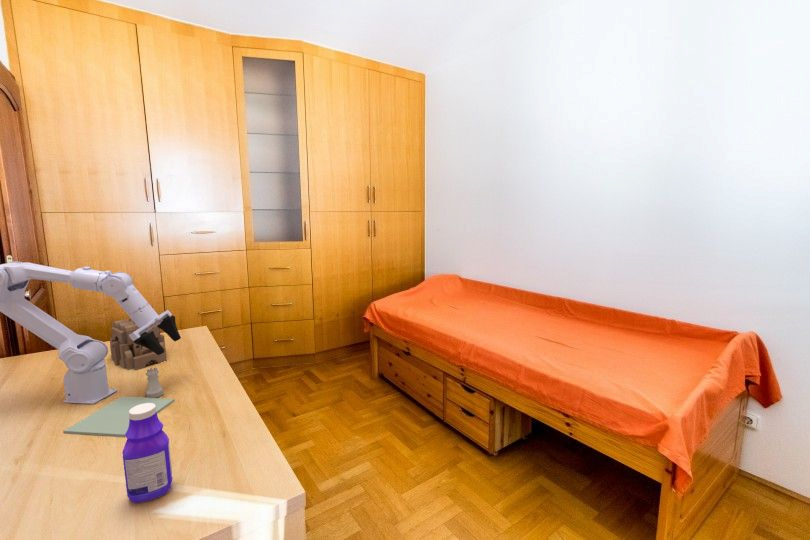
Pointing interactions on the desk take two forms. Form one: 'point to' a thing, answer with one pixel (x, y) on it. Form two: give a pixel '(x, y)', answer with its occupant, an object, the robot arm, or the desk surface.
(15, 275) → the robot arm
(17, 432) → the desk surface
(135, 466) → the bottle
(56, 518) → the desk surface
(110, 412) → the mat
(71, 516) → the desk surface
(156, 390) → the rook chess piece
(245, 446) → the desk surface
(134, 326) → the wooden puzzle
